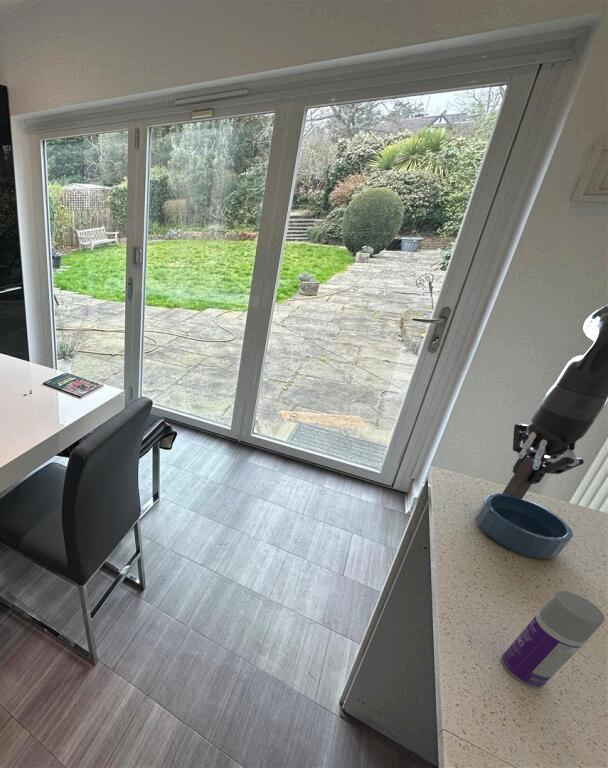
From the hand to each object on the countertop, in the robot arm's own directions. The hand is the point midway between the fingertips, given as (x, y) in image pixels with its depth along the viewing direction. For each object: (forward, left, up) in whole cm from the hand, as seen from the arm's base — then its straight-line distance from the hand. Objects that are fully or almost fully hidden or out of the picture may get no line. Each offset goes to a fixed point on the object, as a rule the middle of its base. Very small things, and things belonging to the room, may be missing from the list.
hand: (523, 477), depth 87 cm
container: (+25, +37, -8) cm, 45 cm away
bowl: (+5, +9, -8) cm, 13 cm away
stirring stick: (0, 0, -8) cm, 8 cm away
